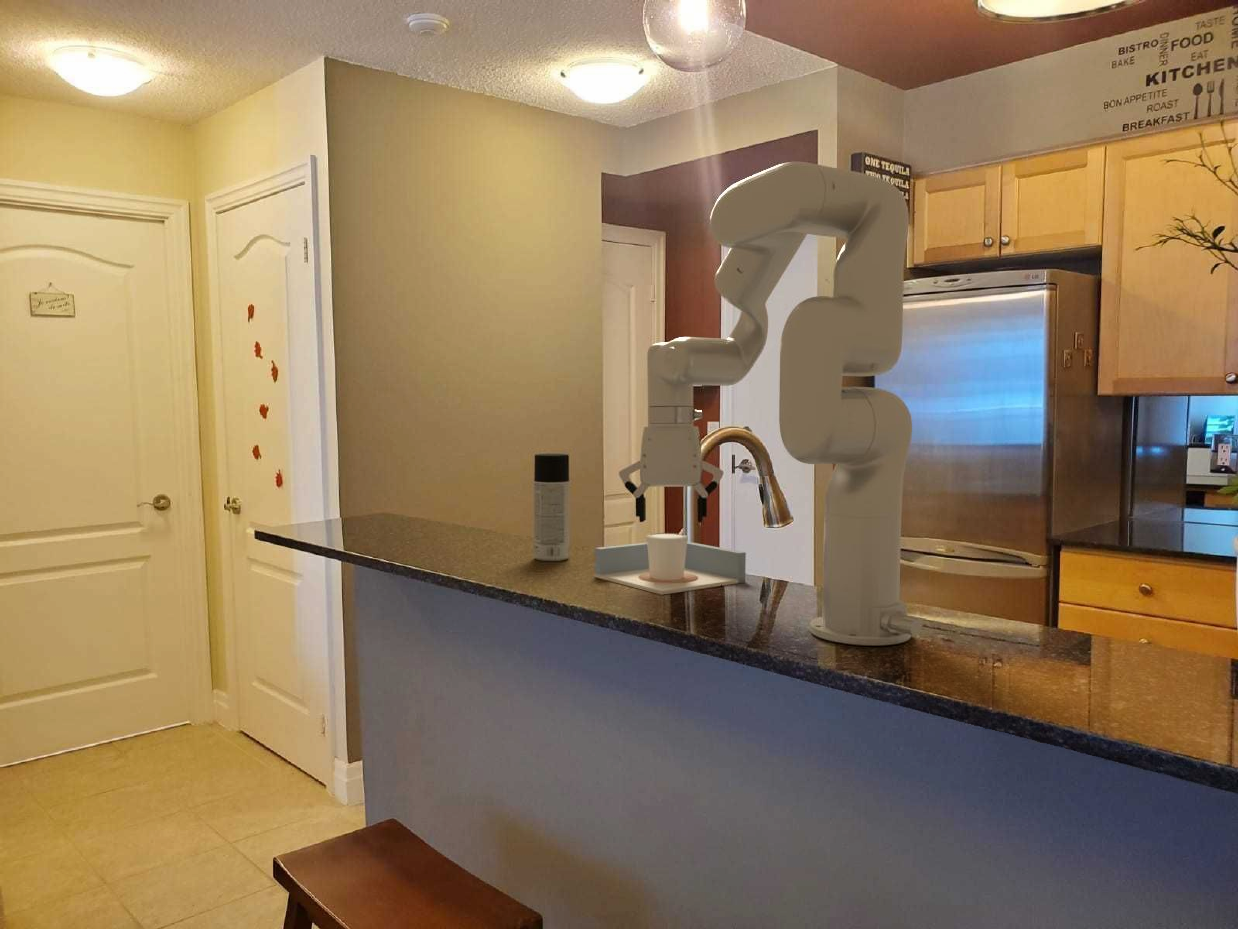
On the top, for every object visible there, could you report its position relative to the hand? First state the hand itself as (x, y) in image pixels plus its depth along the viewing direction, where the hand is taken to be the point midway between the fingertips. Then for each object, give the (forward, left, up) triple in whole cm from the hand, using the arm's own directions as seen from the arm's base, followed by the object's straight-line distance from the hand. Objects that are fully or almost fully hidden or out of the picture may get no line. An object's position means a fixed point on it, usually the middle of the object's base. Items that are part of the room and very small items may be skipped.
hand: (671, 521), depth 152 cm
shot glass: (+1, 0, -10) cm, 10 cm away
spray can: (+31, +4, -10) cm, 33 cm away
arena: (+2, -1, -10) cm, 10 cm away
